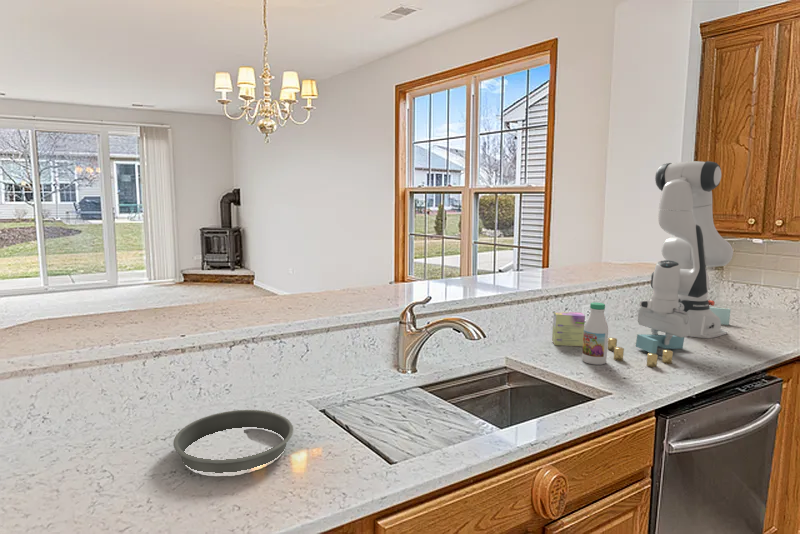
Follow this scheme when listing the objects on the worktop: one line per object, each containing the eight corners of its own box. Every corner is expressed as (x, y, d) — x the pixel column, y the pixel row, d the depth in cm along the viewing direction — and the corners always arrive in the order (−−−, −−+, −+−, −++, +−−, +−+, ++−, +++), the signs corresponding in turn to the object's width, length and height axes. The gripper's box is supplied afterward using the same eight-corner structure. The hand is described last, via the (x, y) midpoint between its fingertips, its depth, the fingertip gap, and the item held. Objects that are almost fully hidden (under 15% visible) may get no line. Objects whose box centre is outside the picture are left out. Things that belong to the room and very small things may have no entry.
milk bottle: (588, 356, 183) (592, 300, 180) (610, 361, 178) (614, 303, 175) (577, 361, 178) (581, 303, 175) (599, 367, 172) (604, 307, 169)
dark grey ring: (285, 480, 104) (285, 459, 103) (156, 485, 102) (154, 463, 101) (299, 425, 128) (299, 407, 127) (194, 427, 126) (194, 409, 125)
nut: (656, 351, 190) (657, 345, 189) (664, 355, 186) (665, 348, 185) (647, 352, 189) (648, 345, 188) (655, 355, 185) (656, 348, 184)
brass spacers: (626, 346, 196) (627, 335, 196) (676, 364, 176) (678, 352, 175) (591, 350, 190) (592, 339, 190) (638, 369, 170) (639, 357, 169)
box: (579, 342, 200) (581, 312, 199) (583, 346, 195) (585, 315, 193) (551, 341, 201) (553, 311, 200) (554, 345, 196) (556, 314, 194)
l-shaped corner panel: (728, 326, 230) (730, 309, 229) (697, 322, 235) (698, 306, 234) (725, 320, 241) (727, 304, 240) (695, 317, 246) (696, 301, 245)
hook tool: (677, 346, 196) (679, 334, 196) (695, 353, 188) (696, 341, 188) (635, 346, 192) (637, 334, 192) (651, 353, 184) (653, 340, 183)
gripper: (695, 311, 182) (692, 350, 184) (648, 299, 201) (646, 335, 203) (682, 312, 180) (678, 352, 182) (636, 300, 199) (633, 336, 201)
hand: (661, 342), depth 193 cm, fingers closed on hook tool, 3 cm apart
